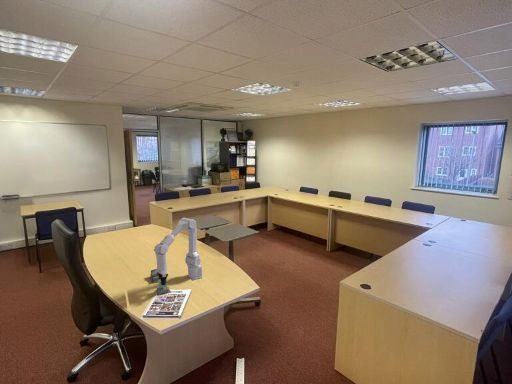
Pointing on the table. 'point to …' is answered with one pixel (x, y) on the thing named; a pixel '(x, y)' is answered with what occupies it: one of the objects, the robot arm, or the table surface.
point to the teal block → (161, 284)
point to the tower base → (164, 293)
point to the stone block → (154, 276)
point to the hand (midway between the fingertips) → (162, 283)
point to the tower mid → (162, 290)
